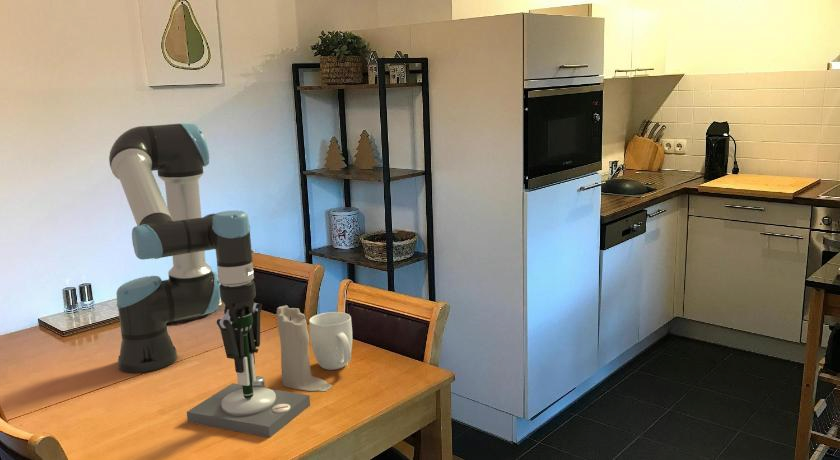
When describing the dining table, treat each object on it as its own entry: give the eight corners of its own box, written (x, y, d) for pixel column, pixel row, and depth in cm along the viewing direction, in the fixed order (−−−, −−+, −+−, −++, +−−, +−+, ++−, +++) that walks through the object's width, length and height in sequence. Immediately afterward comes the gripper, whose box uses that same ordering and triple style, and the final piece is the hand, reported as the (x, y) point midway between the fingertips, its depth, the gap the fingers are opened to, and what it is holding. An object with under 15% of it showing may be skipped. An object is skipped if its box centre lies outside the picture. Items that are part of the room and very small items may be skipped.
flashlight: (246, 390, 158) (237, 307, 154) (264, 393, 157) (256, 309, 153) (232, 399, 154) (223, 315, 150) (251, 402, 152) (242, 317, 148)
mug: (368, 370, 177) (365, 322, 174) (330, 382, 171) (326, 332, 169) (342, 354, 189) (339, 308, 187) (305, 364, 183) (302, 317, 181)
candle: (321, 394, 164) (314, 315, 160) (276, 385, 171) (269, 308, 167) (338, 383, 170) (333, 306, 166) (295, 374, 177) (288, 300, 173)
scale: (187, 422, 153) (185, 406, 152) (233, 392, 167) (231, 378, 167) (269, 437, 144) (268, 421, 144) (310, 405, 159) (309, 390, 158)
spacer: (245, 389, 169) (244, 380, 169) (257, 383, 172) (256, 374, 172) (255, 393, 167) (255, 384, 166) (268, 387, 170) (267, 378, 169)
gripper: (229, 292, 142) (240, 398, 146) (270, 274, 155) (279, 372, 160) (200, 289, 145) (212, 393, 149) (243, 272, 158) (253, 368, 163)
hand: (246, 382), depth 154 cm, fingers closed on flashlight, 1 cm apart
